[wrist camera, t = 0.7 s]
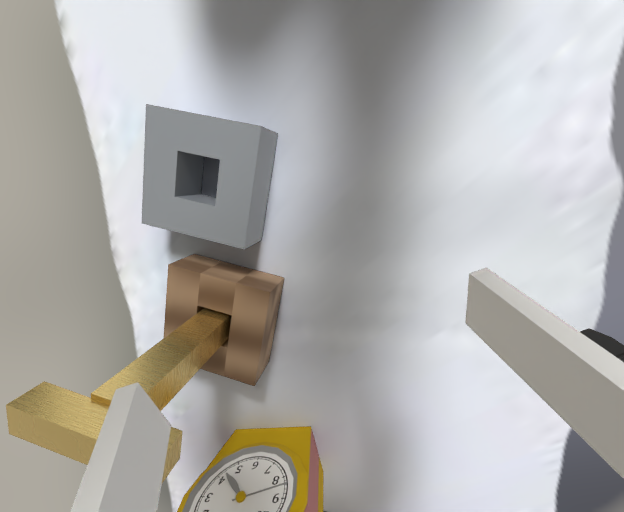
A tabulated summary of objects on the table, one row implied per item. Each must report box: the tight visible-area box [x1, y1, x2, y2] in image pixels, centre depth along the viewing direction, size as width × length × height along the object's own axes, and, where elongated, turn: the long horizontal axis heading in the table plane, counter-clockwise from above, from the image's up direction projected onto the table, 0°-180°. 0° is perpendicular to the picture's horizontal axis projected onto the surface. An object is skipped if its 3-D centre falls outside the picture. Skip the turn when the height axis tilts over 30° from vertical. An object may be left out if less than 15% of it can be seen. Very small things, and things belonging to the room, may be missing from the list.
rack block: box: [142, 104, 278, 249], centre depth 33 cm, size 12×12×5 cm
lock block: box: [164, 254, 284, 386], centre depth 37 cm, size 12×12×5 cm
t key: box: [6, 308, 232, 483], centre depth 29 cm, size 3×11×21 cm, turn 78°
